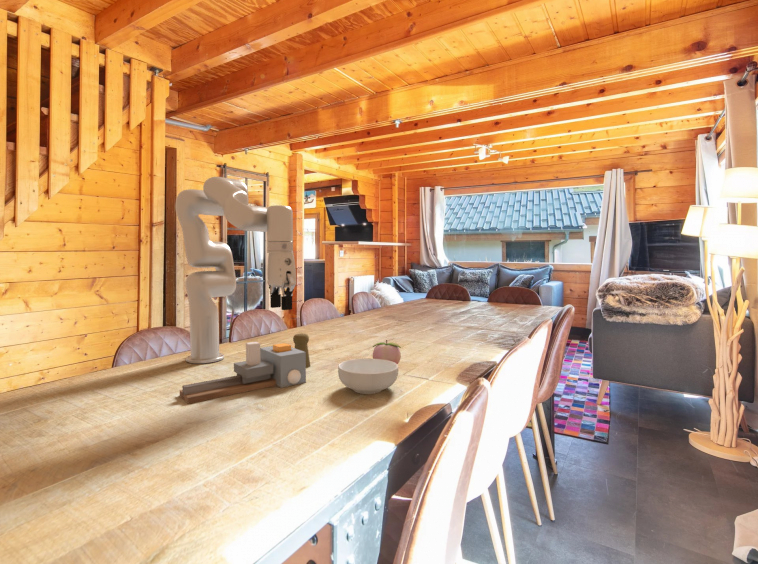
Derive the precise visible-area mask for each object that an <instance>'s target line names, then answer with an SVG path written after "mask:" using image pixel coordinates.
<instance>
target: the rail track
mask: <svg viewBox="0 0 758 564" xmlns="http://www.w3.org/2000/svg"><path fill="white" fill-rule="evenodd" d="M270 375H271V379H266V380H261V381H256V382H251V383H246V384H243V383H242V376H241V375H237V374H236V375H232V376H226V377H223V378H222V377H221V378H217V379H212V380H211V379H210V380H205V381H200V382H194V383H189V384H183V385H182V389H179V397H180V398H182V400H184V401H185V403H187V404H188V405H189V404H193V403H194V404H195V403H200V402H203V401H208V400H213V399H214V400H215V399H217V398H223V397H227V396H233V395H237V394H242V393H245V392H246V393H247V392H251V391H256V390H261V389H266V388H270V387H275V386H277V385H276V380H275V379H273V378H272V374H270Z"/></svg>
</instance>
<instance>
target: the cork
mask: <svg viewBox="0 0 758 564" xmlns="http://www.w3.org/2000/svg"><path fill="white" fill-rule="evenodd" d="M309 337H310V336H309V335H308V333H300V332H299V333H296V334H294V335H293V337H292V340H293V343H294V348H295V349H298V350H301V351H304V352H306V369H307V368H311V360H310V352H309V346H308V343H309V340H310V338H309Z"/></svg>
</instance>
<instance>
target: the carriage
mask: <svg viewBox="0 0 758 564" xmlns="http://www.w3.org/2000/svg"><path fill="white" fill-rule="evenodd" d="M260 348H261V343H260V342H257V341H251V342H250V341H249V342H245V357H246V358H245V359H246V360H245V361H237V362H234V363H233V372H234V373H236V376H237V375H241V376H242V383H243V384H246V383H251V382H256V381H261V380H266V379H271V375H270V374H272V373H274V372H273V364H271V363H269V362H266V361H264V360H262V359H260Z"/></svg>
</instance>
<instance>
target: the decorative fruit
mask: <svg viewBox="0 0 758 564" xmlns="http://www.w3.org/2000/svg"><path fill="white" fill-rule="evenodd" d="M372 348H374V349H373V350H372V351H373V352H372V359H382V360H388V361H392V362H394V363H396V364H397V365H398V364H399V363H400V361H401V358H402V356H401V350H400V349H401V348H402V347H401V346H400V344H398V343H396V342H388V340H387V339H385V342H377V343H375V344H374V345H372Z"/></svg>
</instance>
